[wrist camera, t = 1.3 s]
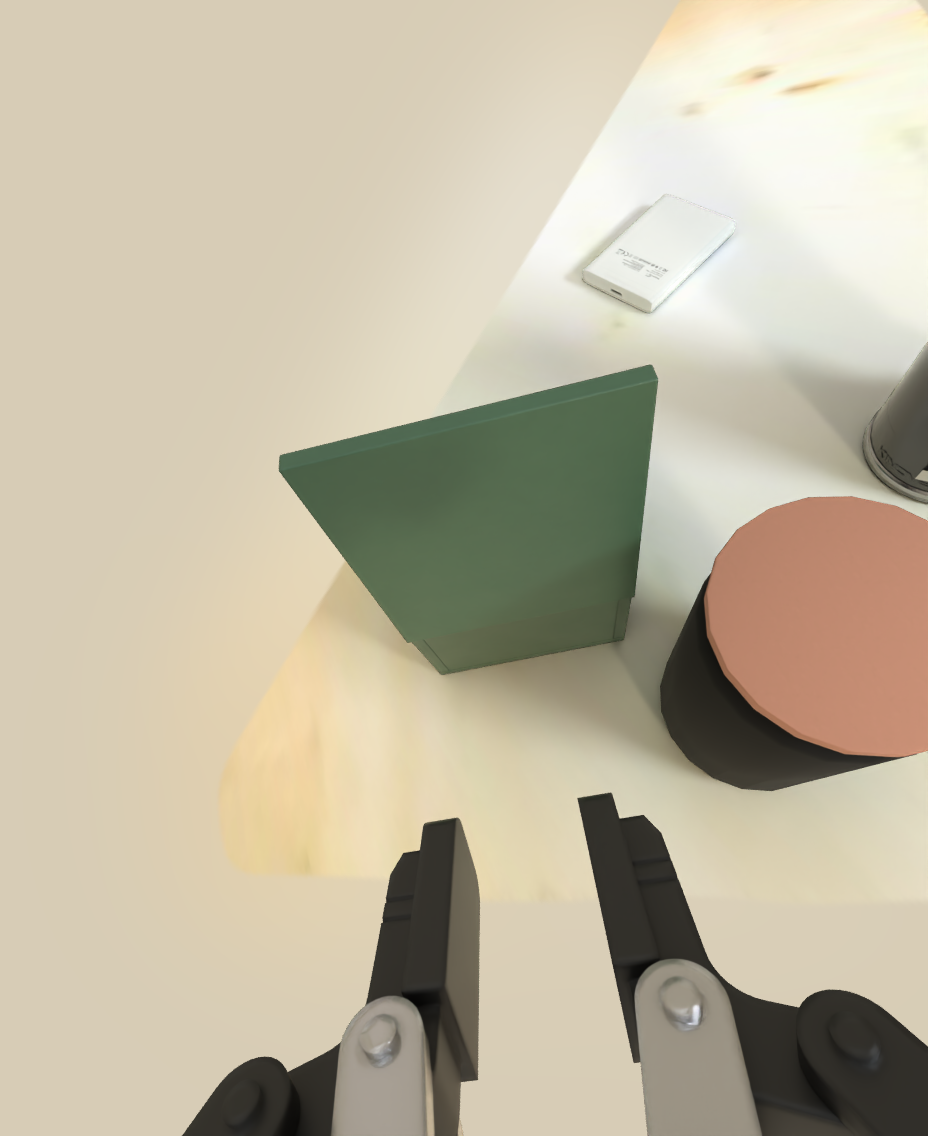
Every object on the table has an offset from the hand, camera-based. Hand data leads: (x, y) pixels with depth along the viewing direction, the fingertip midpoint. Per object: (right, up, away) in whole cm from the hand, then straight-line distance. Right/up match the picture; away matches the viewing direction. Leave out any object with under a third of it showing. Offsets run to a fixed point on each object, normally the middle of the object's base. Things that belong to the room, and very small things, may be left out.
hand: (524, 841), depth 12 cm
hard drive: (+17, +36, +44) cm, 60 cm away
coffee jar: (+17, -3, +26) cm, 32 cm away
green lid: (0, +7, +15) cm, 17 cm away
